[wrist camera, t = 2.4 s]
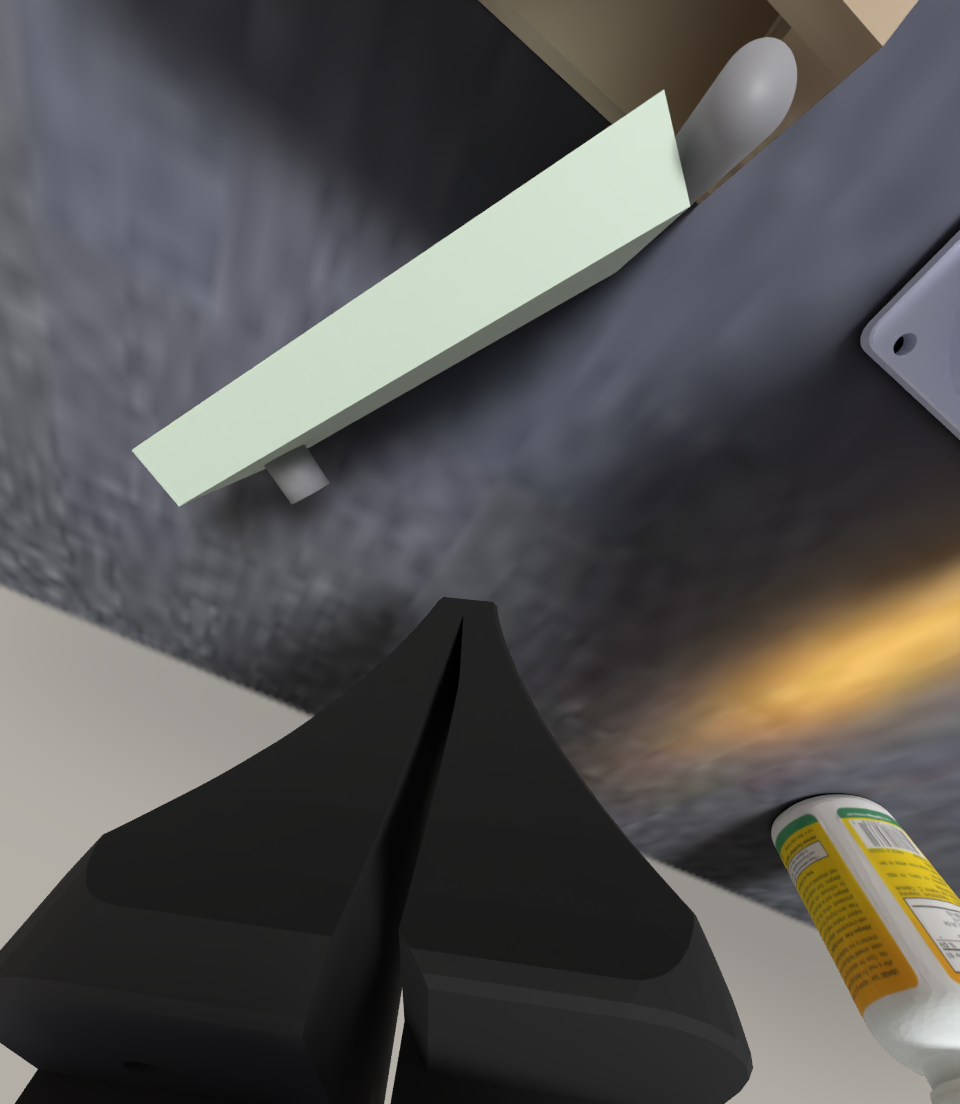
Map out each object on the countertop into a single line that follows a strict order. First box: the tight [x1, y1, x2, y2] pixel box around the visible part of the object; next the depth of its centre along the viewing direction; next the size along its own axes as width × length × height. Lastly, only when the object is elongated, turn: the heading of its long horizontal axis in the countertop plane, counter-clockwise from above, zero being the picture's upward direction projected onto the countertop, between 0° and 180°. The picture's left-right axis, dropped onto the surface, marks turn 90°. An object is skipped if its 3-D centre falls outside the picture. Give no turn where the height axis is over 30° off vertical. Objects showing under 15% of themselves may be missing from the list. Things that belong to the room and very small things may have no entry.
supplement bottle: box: [771, 794, 960, 1104], centre depth 16 cm, size 5×5×10 cm
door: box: [132, 37, 797, 506], centre depth 9 cm, size 12×3×6 cm, turn 117°
